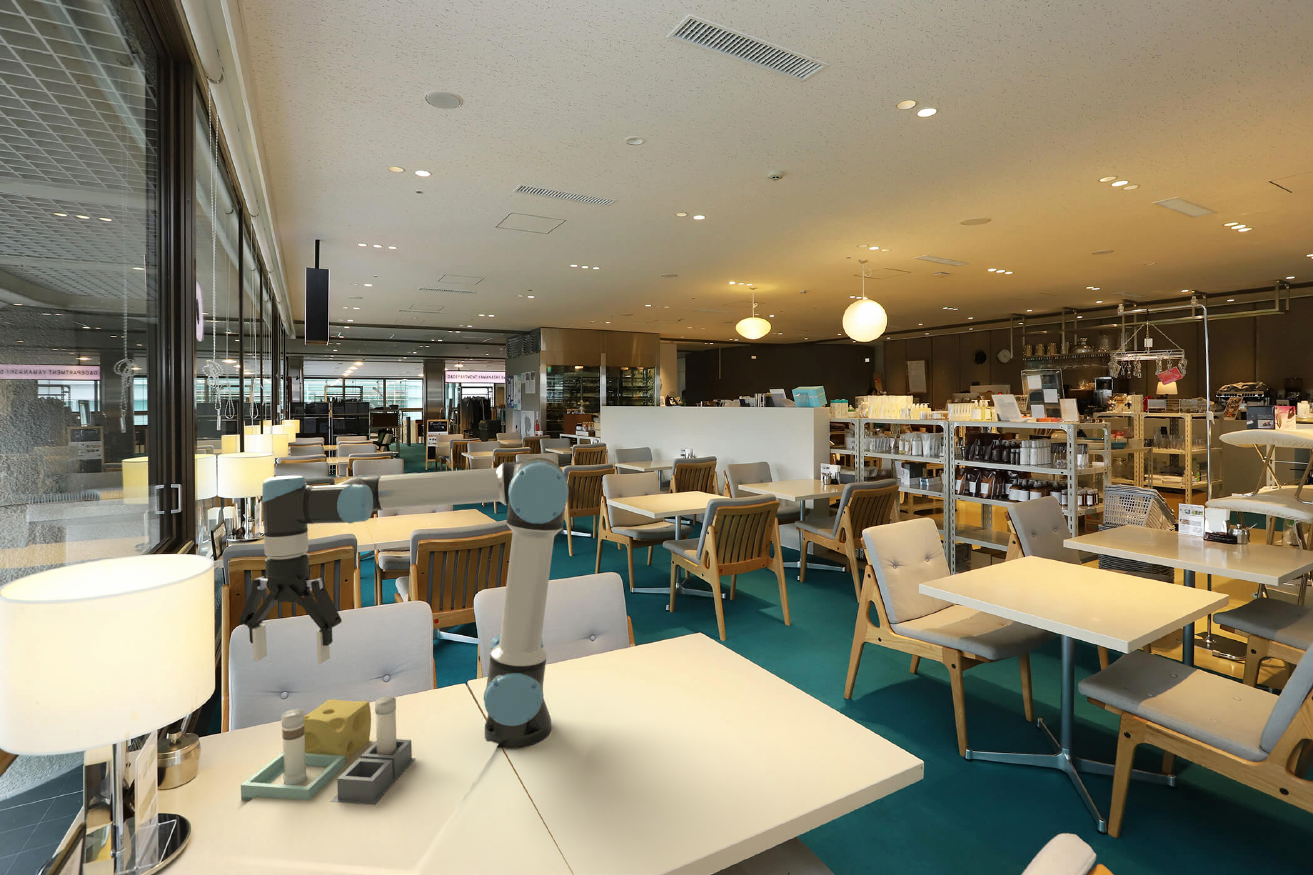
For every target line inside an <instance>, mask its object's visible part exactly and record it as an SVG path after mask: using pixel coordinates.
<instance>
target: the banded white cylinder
mask: <svg viewBox="0 0 1313 875" xmlns="http://www.w3.org/2000/svg"><path fill="white" fill-rule="evenodd" d="M304 716H305V710H304V709H302V708H295V709H294V708H293V709H291V710H287V711H285V712H283V713H282V714H281V727H282V728H281V731H282V732H281V734H282V750H283V751H282V752H283V756H284V773H283V785H296V786H297V785H300V784H302V783H303V782H304V781H306V779H307V776H308V774H307V768H306V767H307V765H306V762H305V725H304V722H305V717H304Z"/></svg>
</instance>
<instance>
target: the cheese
mask: <svg viewBox="0 0 1313 875" xmlns="http://www.w3.org/2000/svg"><path fill="white" fill-rule="evenodd" d="M304 717H305V722H304V725H305V753H311V754H327V755H342V756H345V762H346V761H347V760H348V759H349V758H350V757H351V756H352V755H353V754H354V753H356V752H357V751H358V750H359V749H361V748H362V747H364V745H366V744H367V743H368V742H370V737H371V730H372V728H371V727H372V713H371V705H370V701H366V700H359V701H358V700H357V701H356V700H354V701H353V700H342V699H341V700H340V699H334V698H333V699H331V698H330V699H328V700H326V701H325V702H324V703H322V704H321V705H318V706H317V707H316V708H315V709H313V710H312V711H310V712H309V713H307V714H306V715H305V714H304Z"/></svg>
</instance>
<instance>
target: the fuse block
mask: <svg viewBox="0 0 1313 875" xmlns="http://www.w3.org/2000/svg"><path fill="white" fill-rule="evenodd" d="M396 710H397V699H396V697H395V696H383V697H380V698H377V699H376V700H375V701H374V713H375V728H376V730H375V733H376V737H375V738H376V741H374V743H373V744H371V745H370V747H369V748H368V749H366V750H365V751H364V752H363V753H362V754H361V755H360V757H358V758H357V759H356V760H355V761H354V762H353V763H351V765H350V766H348V768H346V770H344V772H342V773H341V774H340V775H339V776H338V777H337V778H336V781H337V783H336V784H337V787H336V788H337V794H336V795H335V796H334V797H333V799H331V800H330V802H331V803H343V804H345V803H346V804H357V805H358V804H359V805H373V806H376V805H377V803H378V802H379V801H380V800H381V799H382V798H383V796H385V794H386V793H388V791H389V790H390V789H391V788H392V786H393V785H394V784H395V783H396V782H397V780H398V779H399V778H400V777H402V775H403V774H404V773H405V772H406V771H407V769H409V767H410V766H411V765H412V763H413V762H414V761H415V760H416V758H415V757H413V753H412V752H413V751H412V739H402V738H401V739H399V738H397V715H396V713H397V711H396ZM398 781H399V780H398Z"/></svg>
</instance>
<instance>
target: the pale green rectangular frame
mask: <svg viewBox="0 0 1313 875" xmlns="http://www.w3.org/2000/svg"><path fill="white" fill-rule="evenodd" d="M305 762H306V767H307V766H311V767H325V769H324V770H322V772H320V773H319V774H318V775H317V776H316V777H315V778H314V779H313V780H311V781H310V782H309V783H308V784H307V785H306V786H305V785H297V784H296V785H285V784H279V783H273V782H274V781H276V780H277V779H278V778H279V777H280V776H282V775H284V756H283V751H281V752H280V753H279V754H278V755H277V756H275V757H274V758H273V759H272V760H270V761H269V762H268V763H267V764H265V765H264V766H262V767H261V768H260V769H259V770H258V771H256V772H255V773H254V774H253V775H251V776H250V777H249V778H248V779H247V780H245V781H244V782H242V783H241V784H240V798H241V801H252V800H253V799H254V798H255V797H260V798H263V797H264V798H275V799H291V800H301V801H302V800H303V801H304V800H305V801H310V800H311V798H313V796H315V795H316V794H317V793H318V792H319V791H320V790H321V789H322V788H323V787H324V786H325V785H326V784H327V783H328V782H329V781H330V780H331V779H333V777H335V775H336V774H338V773H339V772H340V771H341V770H342V769H343V768H344V767H345V766H346V761H345V756H342V755H327V754H311V753H305Z"/></svg>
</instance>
